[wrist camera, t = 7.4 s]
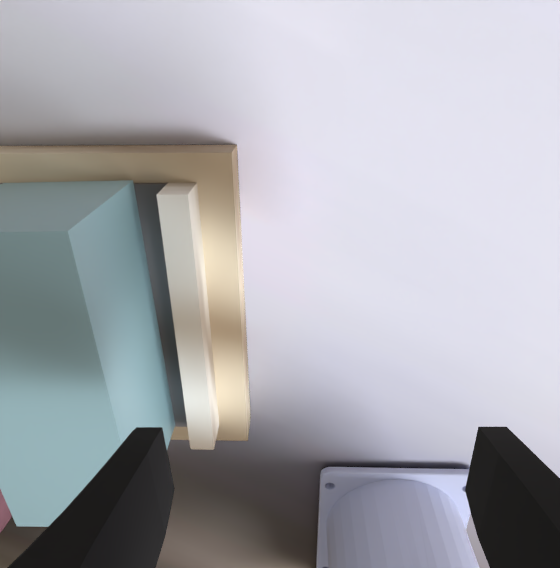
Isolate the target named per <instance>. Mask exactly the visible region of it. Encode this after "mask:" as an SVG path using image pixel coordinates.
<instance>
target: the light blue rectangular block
mask: <svg viewBox="0 0 560 568" xmlns="http://www.w3.org/2000/svg"><path fill="white" fill-rule="evenodd" d="M136 427H162V428H163V433H164V439H165V444H166V449H168V445H169V442H170V439H171V436H172V433H173V430H174V427H175V420H174V414H173V408H172V402H171V397H170V391H169V385H168V379H167V373H166V368H165V362H164V356H163V350H162V345H161V339H160V333H159V327H158V322H157V316H156V310H155V304H154V299H153V293H152V287H151V281H150V275H149V270H148V264H147V258H146V252H145V247H144V241H143V235H142V229H141V224H140V218H139V212H138V206H137V201H136V195H135V189H134V183H133V180H119V181H72V182H25V183H3V184H0V489H1V492H2V494H3V496H4V499H5V501H6V503H7V505H8V508H9V510H10V512H11V515H12V517H13V519H14V521H15V524H16V526H32V527H49V525H50V524H51V523H52V522H53V521H54V520H55V519H56V518H57V517H58V516H59V515H60V514H61V513H62V512H63V511H64V510H65V509H66V508H67V507H68V505H69V504H70V503H71V502H72V501H73V500H74V499H75V498H76V496H77V495H78V494H79V493H80V492H81V491H82V490H83V489H84V487H85V486H86V485H87V484H88V483H89V482H90V481H91V480H92V479H93V477H94V476H95V475H96V474H97V473H98V472H99V470H100V469H101V468H102V467H103V466H104V464H105V463H106V462H107V461H108V460H109V459H110V457H111V456H112V455H113V454H114V453H115V451H116V450H117V449H118V448H119V447H120V445H121V444H122V443H123V442H124V441H125V439H126V438H127V437H128V436H129V435H130V434H131V432H132V431H133V430H134V429H135V428H136Z"/></svg>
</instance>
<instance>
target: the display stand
mask: <svg viewBox="0 0 560 568" xmlns="http://www.w3.org/2000/svg"><path fill="white" fill-rule="evenodd" d="M119 180H133V183H134V189H135V195H136V201H137V206H138V212H139V218H140V224H141V229H142V235H143V241H144V247H145V252H146V258H147V264H148V270H149V275H150V281H151V287H152V293H153V299H154V304H155V310H156V316H157V322H158V327H159V333H160V339H161V345H162V350H163V356H164V362H165V368H166V373H167V379H168V385H169V391H170V397H171V402H172V408H173V414H174V420H175V427H174V430H173V433H172V436H171V439H170V440H189V442H190V449H200V450H214V447H215V442H216V440H225V441H248V434H249V426H250V418H251V417H250V397H249V377H248V358H247V338H246V318H245V298H244V278H243V259H242V239H241V219H240V199H239V180H238V160H237V145H64V146H0V184H3V183H25V182H72V181H119Z"/></svg>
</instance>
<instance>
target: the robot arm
mask: <svg viewBox="0 0 560 568" xmlns="http://www.w3.org/2000/svg"><path fill="white" fill-rule="evenodd" d="M173 493H174V485H173V480H172V475H171V469H170V464H169V459H168V454H167V449H166V444H165V439H164V433H163V428H162V427H136V428H135V429H134V430H133V431H132V432H131V434H130V435H129V436H128V437H127V438H126V439H125V441H124V442H123V443H122V444H121V445H120V447H119V448H118V449H117V450H116V451H115V453H114V454H113V455H112V456H111V457H110V459H109V460H108V461H107V462H106V463H105V464H104V466H103V467H102V468H101V469H100V470H99V472H98V473H97V474H96V475H95V476H94V477H93V479H92V480H91V481H90V482H89V483H88V484H87V485H86V486H85V487H84V489H83V490H82V491H81V492H80V493H79V494H78V495H77V496H76V498H75V499H74V500H73V501H72V502H71V503H70V504H69V505H68V507H67V508H66V509H65V510H64V511H63V512H62V513H61V514H60V515H59V516H58V517H57V518H56V519H55V520H54V521H53V522H52V523H51V524H50V525H49V527H48V528H47V529H46V530H45V531H44V532H43V533H42V534H41V535H40V536H39V537H38V538H37V539H36V540H35V541H34V542H33V543H32V544H31V545H30V546H29V547H28V548H27V549H26V550H25V551H24V552H23V553H22V554H21V555H20V556H19V557H18V558H17V559H16V560H15V561H14V562H13V563H12V564H11V565H10V566H9V567H8V568H155V567H156V564H157V561H158V558H159V554H160V551H161V548H162V544H163V541H164V538H165V534H166V529H167V524H168V520H169V515H170V509H171V504H172V499H173ZM470 513H471V515H472V518H473V522H474V525H475V528H476V532H477V535H478V538H479V541H480V543H481V546H482V549H483V551H484V554H485V556H486V559H487V561H488V564H489V566H490V568H560V478H559V477H558V476H557V475H556V474H555V473H553V472H552V471H551V470H550V469H549V468H548V467H547V466H546V465H545V464H544V463H543V462H542V461H541V460H540V459H539V458H538V457H537V456H536V455H535V454H534V453H533V452H532V451H531V450H530V449H529V448H528V447H527V446H526V445H525V444H524V443H523V442H522V441H521V440H520V439H518V438H517V437H516V436H515V435H514V434H513V433H512V432H511V431H510V430H509V429H508V428H507V427H478V432H477V437H476V441H475V446H474V451H473V455H472V460H471V465H470V469H429V468H371V467H326V468H324V469H323V470H322V471H321V473H320V489H319V513H318V537H317V560H316V568H479V565H478V563H477V560H476V557H475V554H474V551H473V549H472V546H471V543H470V540H469V537H468V535H467V532H466V528H467V524H468V520H469V516H470Z"/></svg>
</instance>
